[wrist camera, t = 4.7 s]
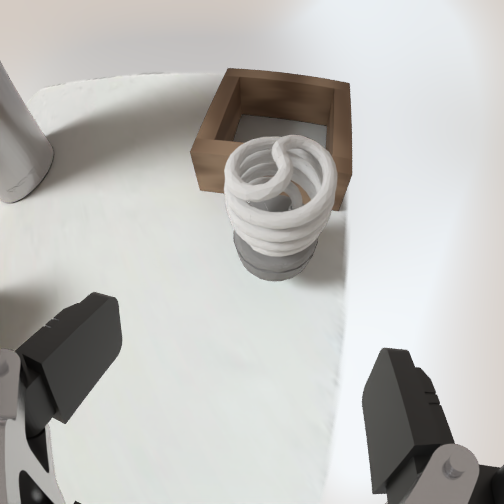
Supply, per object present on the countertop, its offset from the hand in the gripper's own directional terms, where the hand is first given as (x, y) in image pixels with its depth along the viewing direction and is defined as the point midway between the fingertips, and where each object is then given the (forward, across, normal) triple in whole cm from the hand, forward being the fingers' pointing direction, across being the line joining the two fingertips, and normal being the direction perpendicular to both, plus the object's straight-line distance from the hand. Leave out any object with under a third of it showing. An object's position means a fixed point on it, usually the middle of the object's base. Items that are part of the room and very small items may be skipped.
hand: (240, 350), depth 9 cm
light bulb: (+15, 0, +4) cm, 16 cm away
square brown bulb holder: (+24, +1, -5) cm, 24 cm away
